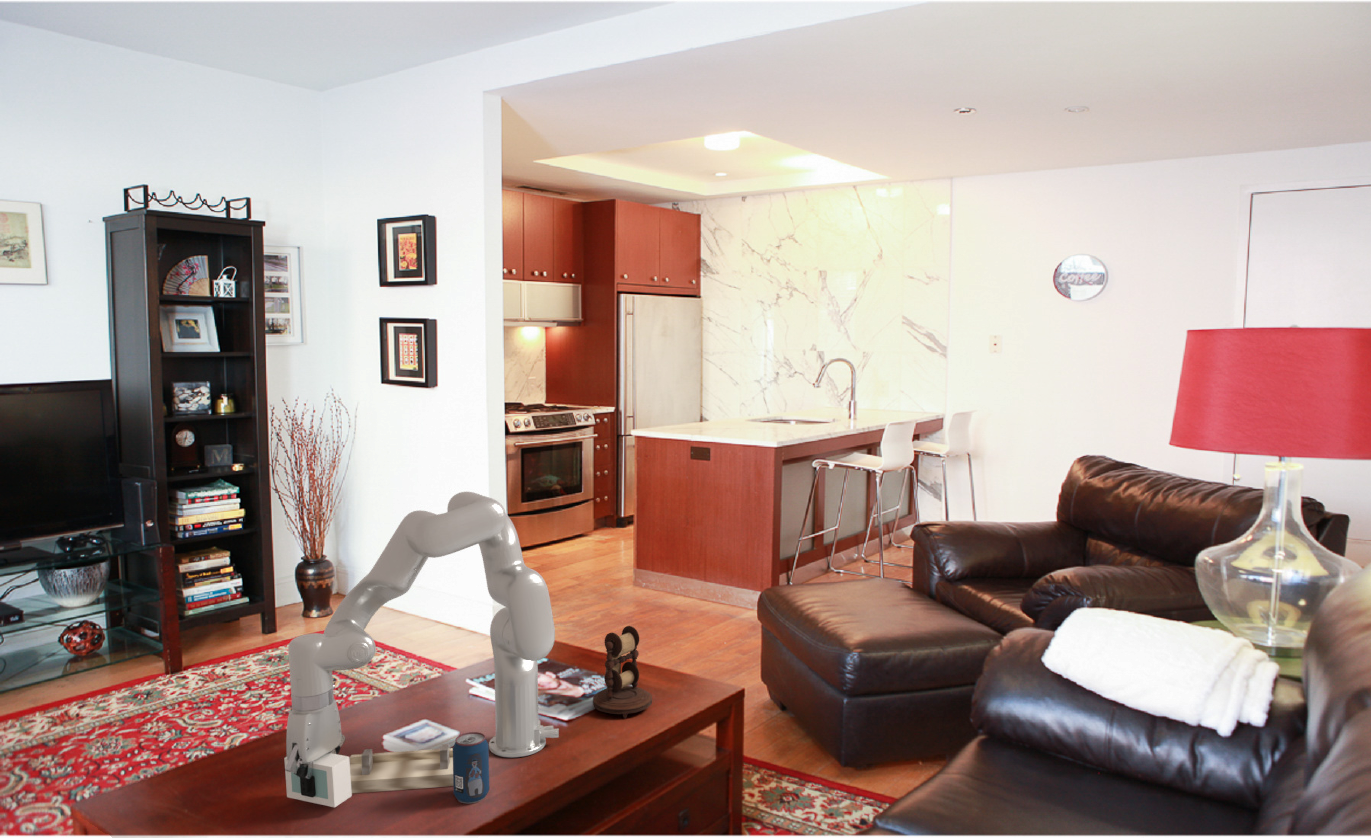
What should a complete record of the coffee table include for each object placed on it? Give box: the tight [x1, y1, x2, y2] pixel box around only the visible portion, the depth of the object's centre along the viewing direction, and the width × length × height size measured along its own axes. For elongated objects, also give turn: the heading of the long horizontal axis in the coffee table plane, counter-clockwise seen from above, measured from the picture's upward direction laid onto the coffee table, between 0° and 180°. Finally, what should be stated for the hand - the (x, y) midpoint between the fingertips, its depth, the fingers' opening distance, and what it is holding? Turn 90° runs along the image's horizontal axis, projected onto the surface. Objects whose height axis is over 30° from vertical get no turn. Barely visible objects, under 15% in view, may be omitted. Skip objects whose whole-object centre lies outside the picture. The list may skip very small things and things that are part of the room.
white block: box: [284, 753, 353, 808], centre depth 171 cm, size 12×5×8 cm, turn 68°
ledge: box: [349, 743, 453, 794], centre depth 182 cm, size 24×9×6 cm, turn 98°
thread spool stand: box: [592, 625, 653, 720], centre depth 218 cm, size 15×15×20 cm
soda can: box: [452, 731, 490, 805], centre depth 174 cm, size 7×7×12 cm
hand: (318, 788), depth 172 cm, fingers closed on white block, 4 cm apart
